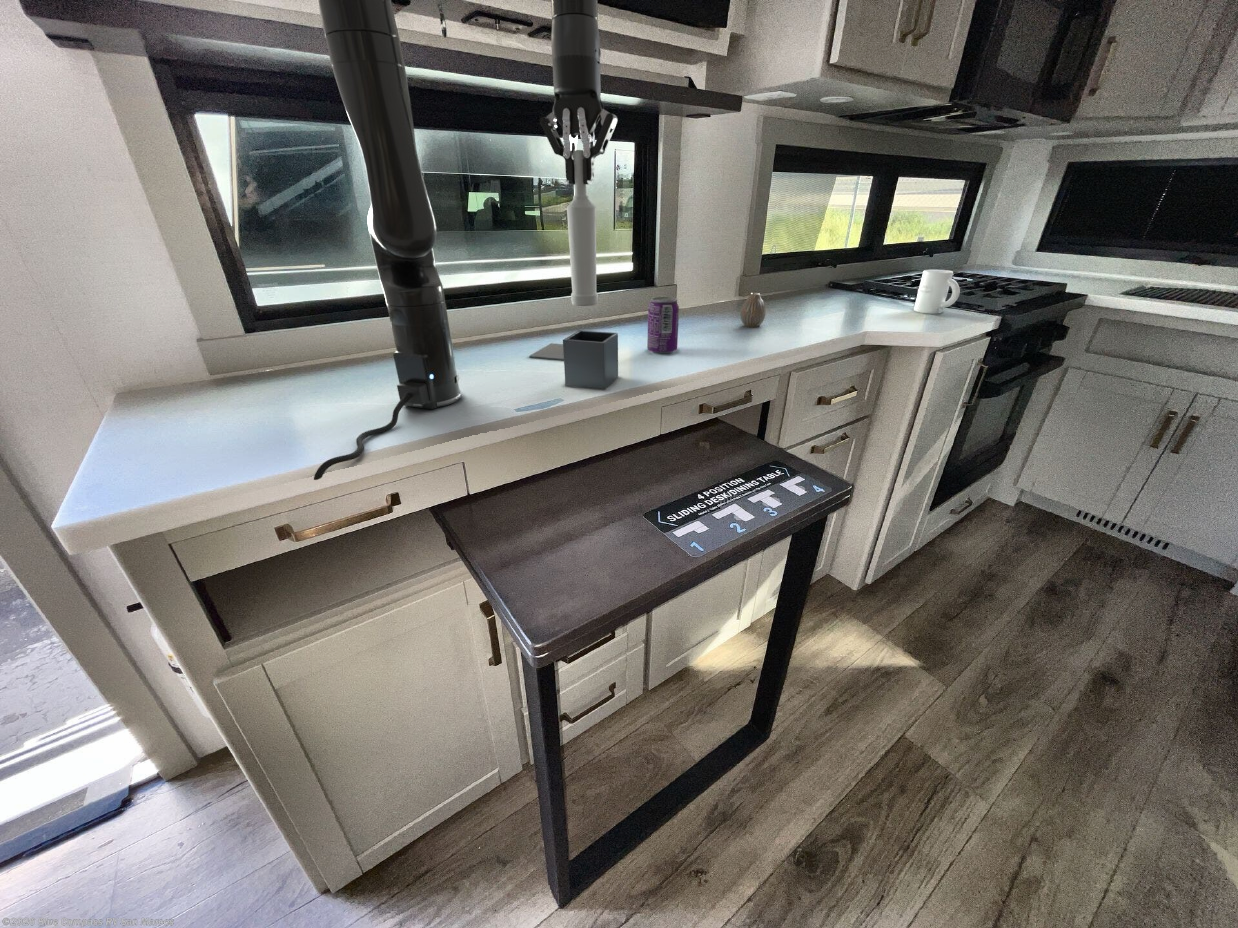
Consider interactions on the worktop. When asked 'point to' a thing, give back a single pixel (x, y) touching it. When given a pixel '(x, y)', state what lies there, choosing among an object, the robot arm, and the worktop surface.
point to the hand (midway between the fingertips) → (580, 184)
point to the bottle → (582, 240)
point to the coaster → (550, 352)
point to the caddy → (591, 359)
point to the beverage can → (663, 325)
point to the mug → (936, 291)
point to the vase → (753, 311)
